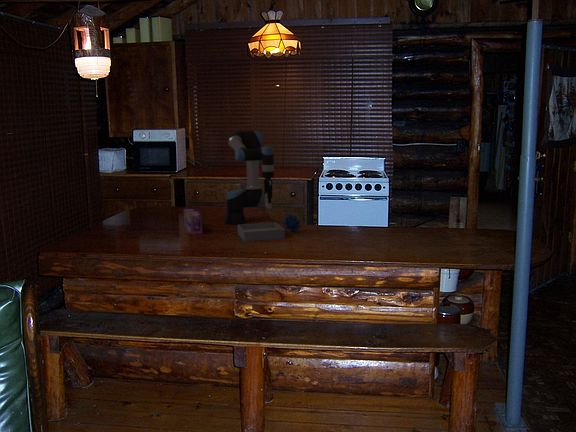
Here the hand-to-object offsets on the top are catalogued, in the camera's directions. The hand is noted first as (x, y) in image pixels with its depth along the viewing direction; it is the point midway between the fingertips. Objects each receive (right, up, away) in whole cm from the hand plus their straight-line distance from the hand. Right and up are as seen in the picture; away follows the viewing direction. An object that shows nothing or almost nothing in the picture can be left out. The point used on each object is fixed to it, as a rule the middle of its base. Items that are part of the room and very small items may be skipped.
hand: (268, 207), depth 368 cm
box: (-5, -18, +2) cm, 19 cm away
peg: (0, -3, +1) cm, 3 cm away
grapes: (+15, -16, +12) cm, 25 cm away
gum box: (-51, -16, +19) cm, 57 cm away
